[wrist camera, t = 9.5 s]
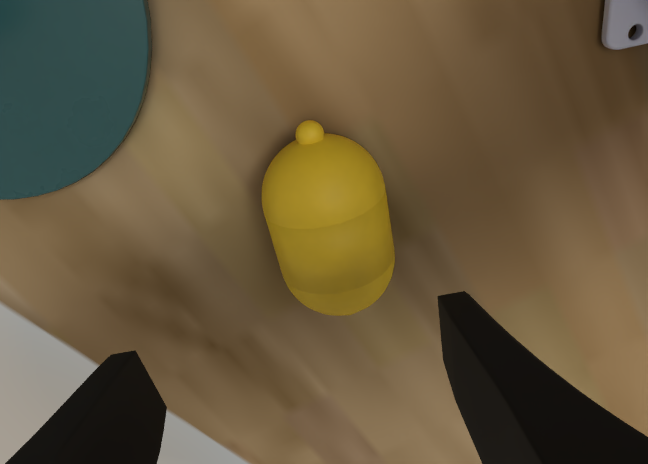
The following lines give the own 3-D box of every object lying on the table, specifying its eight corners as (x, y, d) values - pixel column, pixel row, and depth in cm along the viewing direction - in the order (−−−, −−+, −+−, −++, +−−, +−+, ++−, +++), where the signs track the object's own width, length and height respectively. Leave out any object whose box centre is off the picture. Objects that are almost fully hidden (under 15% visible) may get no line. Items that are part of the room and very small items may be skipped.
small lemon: (365, 91, 17) (384, 127, 13) (392, 272, 22) (412, 340, 18) (248, 116, 18) (232, 159, 14) (298, 289, 22) (297, 360, 18)
